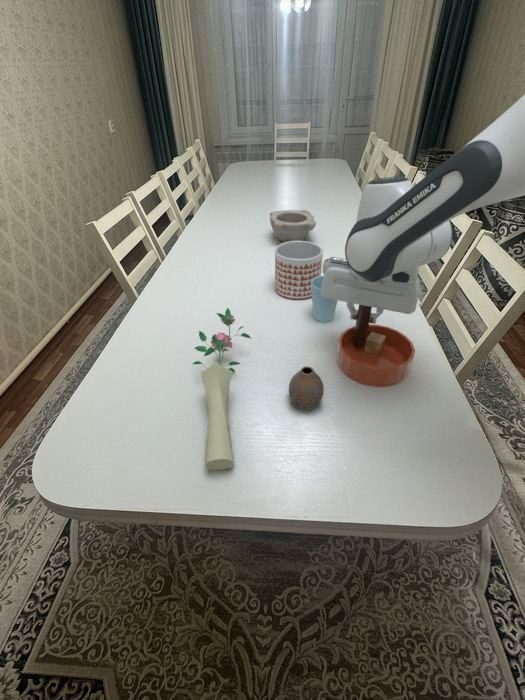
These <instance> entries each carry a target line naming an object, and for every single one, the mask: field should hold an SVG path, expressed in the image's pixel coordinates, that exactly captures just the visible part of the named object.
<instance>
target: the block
mask: <svg viewBox="0 0 525 700" xmlns="http://www.w3.org/2000/svg"><path fill="white" fill-rule="evenodd" d="M385 339H386V336H384V335H381V334H377V333H374V332H371V333H370V335H369V336H368V337H367V339H366V343H365V348H364V351H366V352H369V353H372V354H375V355H379V354H380V352H381V351H382V349H383V348H384V343H385Z"/></svg>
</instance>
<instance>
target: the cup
mask: <svg viewBox="0 0 525 700" xmlns="http://www.w3.org/2000/svg"><path fill="white" fill-rule="evenodd" d="M323 278H324V275H321V276H319V277H316V278H314V279H313V280H312V281H311V287H312V297H311V301H312V303H311V304H312V317H313V318H314V320H315V321H316V322H320V323H328V322H331V321H333V320H334V317H335V314H336V309H337V306H338V305H337V304H338V302H339V301H338V300H333V299H328V298H324V297H323V296H322V295H321V286H322V281H323Z"/></svg>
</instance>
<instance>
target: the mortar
mask: <svg viewBox="0 0 525 700" xmlns="http://www.w3.org/2000/svg"><path fill="white" fill-rule="evenodd" d="M269 222H270V226H271V229H272V231H273V233H274V235H275V237H276V238H277V240H278V241H280V242H282V243H285V242H289V241H305V239H306V237H307V236H308V234H309V233H310V232H312V231H313V230H314V229H315V227H316V225H317V222H316V221H315V216H313V214H312V213H311V212H310V211H309V210H306V209H301V210H298V209H284V210H274V211H271V212H270V213H269Z"/></svg>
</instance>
